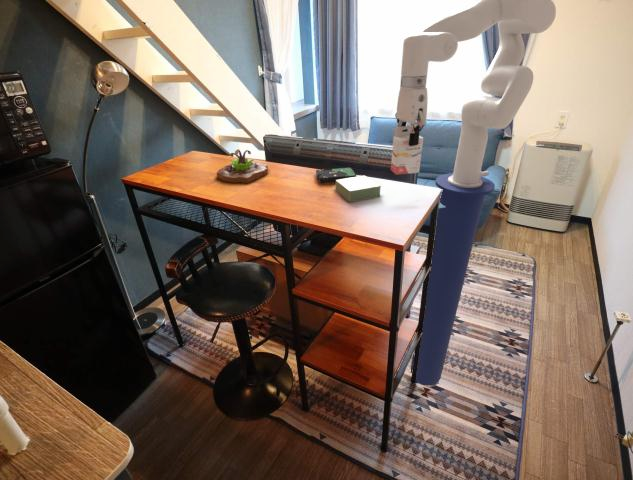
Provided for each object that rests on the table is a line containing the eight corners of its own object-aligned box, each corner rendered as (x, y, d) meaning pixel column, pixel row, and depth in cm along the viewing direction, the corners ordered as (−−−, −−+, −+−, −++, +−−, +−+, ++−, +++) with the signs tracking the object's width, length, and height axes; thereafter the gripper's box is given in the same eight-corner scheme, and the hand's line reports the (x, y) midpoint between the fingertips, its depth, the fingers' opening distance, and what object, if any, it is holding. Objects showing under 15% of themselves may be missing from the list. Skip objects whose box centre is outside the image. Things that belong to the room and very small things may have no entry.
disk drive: (320, 185, 134) (356, 181, 136) (319, 178, 133) (357, 174, 134) (315, 176, 143) (350, 172, 145) (315, 169, 141) (350, 166, 143)
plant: (209, 180, 141) (204, 153, 136) (235, 165, 157) (231, 140, 151) (251, 185, 135) (248, 157, 129) (274, 169, 151) (271, 144, 145)
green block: (363, 185, 132) (364, 175, 130) (379, 196, 123) (380, 185, 121) (335, 190, 129) (335, 179, 127) (349, 202, 119) (349, 191, 117)
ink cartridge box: (395, 175, 114) (399, 130, 107) (390, 170, 118) (393, 126, 111) (420, 172, 115) (425, 127, 108) (413, 168, 120) (418, 124, 112)
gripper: (442, 84, 97) (434, 147, 106) (407, 78, 111) (402, 135, 120) (420, 86, 95) (413, 151, 104) (387, 80, 108) (383, 138, 118)
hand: (407, 142), depth 112 cm, fingers closed on ink cartridge box, 5 cm apart
